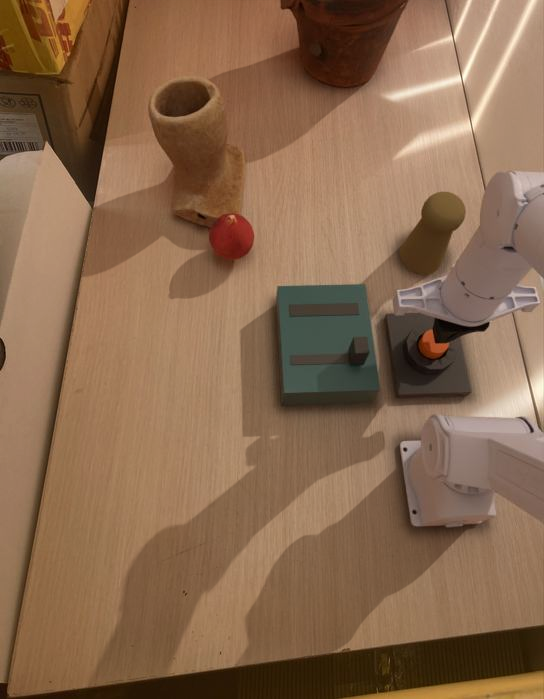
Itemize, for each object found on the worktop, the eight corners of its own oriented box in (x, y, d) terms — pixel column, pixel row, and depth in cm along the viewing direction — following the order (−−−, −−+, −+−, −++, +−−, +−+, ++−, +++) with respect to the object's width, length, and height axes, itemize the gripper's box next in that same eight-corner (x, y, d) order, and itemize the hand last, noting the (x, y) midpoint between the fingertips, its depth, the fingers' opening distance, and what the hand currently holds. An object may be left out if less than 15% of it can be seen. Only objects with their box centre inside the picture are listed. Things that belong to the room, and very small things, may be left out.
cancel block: (468, 395, 66) (477, 387, 63) (395, 398, 65) (402, 389, 63) (451, 316, 70) (459, 305, 68) (383, 317, 70) (389, 306, 67)
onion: (203, 260, 73) (197, 223, 65) (224, 229, 75) (221, 190, 67) (240, 277, 72) (239, 242, 64) (261, 246, 74) (262, 208, 67)
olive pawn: (441, 278, 73) (472, 228, 63) (397, 269, 73) (420, 218, 63) (444, 242, 75) (474, 188, 65) (401, 234, 76) (425, 179, 66)
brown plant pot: (278, 21, 93) (284, -100, 77) (393, 28, 94) (423, -91, 77) (274, 95, 86) (280, -22, 69) (399, 102, 86) (433, -12, 70)
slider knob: (363, 365, 62) (369, 353, 59) (349, 365, 62) (355, 353, 59) (361, 349, 63) (367, 336, 60) (348, 349, 63) (353, 336, 59)
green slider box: (372, 402, 65) (380, 389, 61) (281, 405, 64) (283, 392, 60) (358, 301, 71) (365, 283, 67) (275, 303, 70) (277, 285, 66)
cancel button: (446, 358, 65) (451, 352, 63) (420, 359, 65) (424, 353, 63) (441, 334, 66) (446, 328, 65) (416, 335, 66) (420, 329, 65)
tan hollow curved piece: (171, 146, 81) (155, 55, 67) (250, 154, 81) (250, 64, 67) (152, 228, 74) (130, 146, 61) (238, 236, 74) (235, 157, 61)
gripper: (550, 236, 52) (492, 304, 65) (403, 239, 52) (373, 307, 64) (570, 299, 49) (505, 357, 62) (415, 303, 49) (381, 361, 61)
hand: (439, 335), depth 63 cm, fingers closed
